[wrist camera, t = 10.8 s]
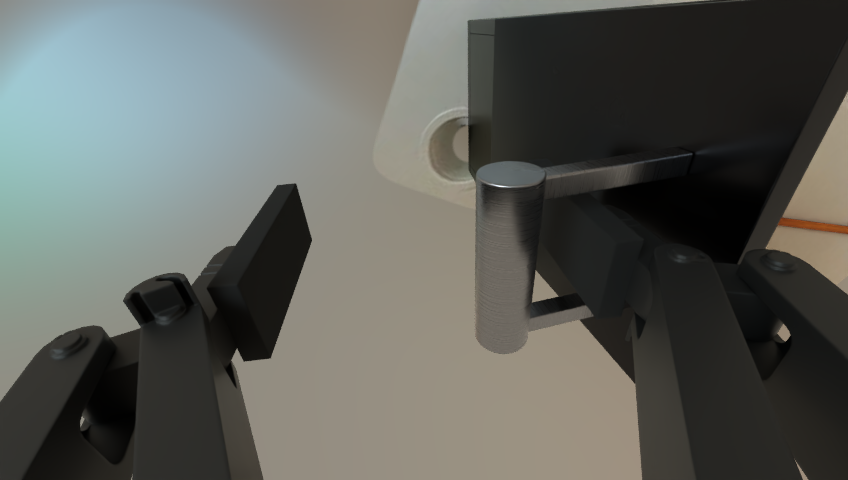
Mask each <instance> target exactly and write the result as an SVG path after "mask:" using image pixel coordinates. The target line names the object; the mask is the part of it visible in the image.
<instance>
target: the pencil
mask: <svg viewBox="0 0 848 480" xmlns="http://www.w3.org/2000/svg"><path fill="white" fill-rule="evenodd" d="M778 225H783V226H791V227H799V228H807V229H815V230H822V231H830V232H838V233H846V234H848V226H840V225H833V224H825V223H817V222H810V221H802V220H794V219H787V218H781V219H780V221H779V223H778Z"/></svg>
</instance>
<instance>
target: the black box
mask: <svg viewBox="0 0 848 480" xmlns="http://www.w3.org/2000/svg"><path fill="white" fill-rule="evenodd" d="M720 1H733V0H706V1H694V2H682V3H669V4H657V5H645V6H633V7H621V8H609V9H597V10H586V11H574V12H562V13H575V12H588V11H601V10H614V9H627V8H641V7H654V6H667V5H680V4H694V3H707V2H720ZM550 14H561V13H550ZM538 15H548V14H538ZM526 16H535V15H526ZM515 17H522V16H515ZM503 18H508V17H503ZM495 19H497V18H491V19H479V20H469V21H468V129H469V130H468V132H469V172H470V173H471V175H472V177H473V178H474V180H475V182H476V173H477V171H478V170H479V169H480V168H481V167H483V166H485V165H488V164H491V136H492V102H493V68H494V33H495Z"/></svg>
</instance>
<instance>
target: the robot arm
mask: <svg viewBox="0 0 848 480" xmlns="http://www.w3.org/2000/svg"><path fill="white" fill-rule="evenodd" d="M529 163H531V164H534V165H537V166H539V167H541V168H546V167H552V166H555V165H554V164H553V163H552V162H551V161H549V160H548V159H547V158H545V159H535V160H529ZM539 240H540V241H541V242H542V244H543V245H544V247H545V248H546V249H547V251H548V252H549V254H550V255H551V257H552V258H553V259H554V261H555V262H556V264H557V265H558V266H559V268H560V269H561V271H562V272H563V273H564V275H565V276H566V278H567V279H568V280H569V282H570V283H571V285H572V286H573V287H574V289H575V290H576V292H577V293H578V294H579V296H580V297H581V299H582V300H583V301H584V303H585V304H586V306H587V307H588V308H589V310H590V311H591V313H592V314H593V316H594V317H595V318H596V320H597V319H606V318H614V317H621V315H622V312H623V309H624V305H625V302H627V303H628V304H629V305H630V306H631V307H632V309H633V310H634V314H633V317H632V320H631V323H630V326H629V329H628V332H627V335H626V338H625V341H629V340H630V337H631V336H632V343H633V357H634V371H635V384H636V399H637V412H638V425H639V439H640V454H641V468H642V480H803V479H802V476H801V474H800V471H799V469H798V467H797V464H796V462H797V463H798V465H799V466H800V468H801V469H802V471H803V472H804V473H805V475H806V476H807V478H808V479H809V480H848V295H847V294H846V293H845V292H843V291H842V290H841V289H840V288H839V287H837V286H836V285H835V284H834V283H832V282H831V281H830V280H828V279H827V278H826V277H825V276H823V275H822V274H821V273H820V272H818V271H817V270H816V269H815V268H813V267H812V266H811V265H810V264H808V263H806V262H805V261H803V260H801V259H800V258H797V257H795V256H792V255H790V254H789V253H786V252H780V251H778V250H767V249H754V250H750V251H748V252H746V254H745V256H744V258H743V260H742V262H741V264H728V263H715V262H713V261H712V259H711V258H710V257H709V256H708V255H707V254H705V253H704V252H702V251H701V250H698V249H696V248H693V247H691V246H687V245H682V244H673V243H667V244H666V243H665V242H663V241H662V240H661V239H659V238H658V237H657V236H656V235H654V234H653V233H652V232H650V231H649V230H648V229H647V228H645V227H644V226H641V224H640V223H639V222H638V221H636V220H634V218H633V217H631V216H630V215H629V214H627V213H626V212H625V211H623V210H621V209H618V208H616V207H614V206H611V205H605V206H604V205H602V204H601V203H600V202H599V201H598V200H596V199H595V198H594V197H593V196H591V195H590V194H589V193H584V194H578V195H572V196H567V197H561V198H555V199H550V200H544V203H543V211H542V220H541V228H540V236H539ZM311 242H312V238H311V235H310V231H309V228H308V224H307V221H306V217H305V213H304V210H303V206H302V203H301V199H300V196H299V192H298V189H297V185H296V184H286V185H277V187H276V188H275V189H274V191H273V192H272V194H271V195H270V197H269V198H268V200H267V201H266V202H265V204H264V205H263V207H262V208H261V210H260V211H259V213H258V214H257V216H256V217H255V218H254V220H253V221H252V223H251V224H250V226H249V227H248V229H247V230H246V231H245V233H244V234H243V236H242V237H241V239H240V240H239V241H238V243H237V244H236V246H229V247H226V248H224V249H223V250H221V251H220V252H219V253H217V254H216V255H214V257H213V258H212V259H211V260H210V262H209V263H208V265H207V267H206V268H204V270H203V271H202V273H201V276H199V277H198V278H197V279H196V280H195V282H194V283H193V284H192V286H191V285H190V283H189V281H188V279H187V278H186V276H185V275H184V274H180V273H167V274H163V275H159V276H155V277H153V278H151V279H148V280H146V281H144V282H142V283H140V284H139V285H137V286H135V287H134V288H133V289H132V290H131V291H129V293H127V294H126V296H125V298H124V300H123V302H124V303H125V304H126V306H127V307H128V309H129V310H130V312H131V313H132V315H133V316H134V317H135V319H136V320H137V322H138V323H139V325H140V326H141V328H140V329H137V330H134V331H130V332H127V333H124V334H121V335H117V336H114V337H111V338H110V337H109V336H108V335H107V333H106V332H105V331H104V330H103V328H102V327H100V326H94V325H93V326H87V327H81V328H79V329H76V330H72V331H69V332H66V333H65V334H64V335H60V336H58V337H57V338H55V339H54V340H53V341H51V342H50V343H49V344H47V345H46V346H44V347H43V348H42V349H41V350H40V351H39V352H38V353H37V354H36V355H35V356H34V358H33V359H32V361H31V362H30V363H29V364H28V366H27V367H26V368H25V370H24V371H23V372H22V374H21V375H20V377H19V378H18V379H17V381H16V382H15V383H14V384H13V386H12V387H11V388H10V390H9V391H8V392H7V394H6V395H5V396H4V398H3V399H2V400H1V402H0V480H131V477H132V474H133V478H132V480H263V476H262V472H261V468H260V464H259V460H258V456H257V452H256V448H255V444H254V440H253V436H252V432H251V427H250V423H249V419H248V416H247V411H246V408H245V403H244V399H243V395H242V392H241V387H240V383H239V379H238V375H237V371H236V368H235V367H234V365H233V363H232V361H231V359H232V357H233V355H234V353H235V351H236V349H237V348H238V351H239V353H240V355H241V357H242V359H243V361H252V360H260V359H269V358H271V355H272V353H273V350H274V347H275V344H276V341H277V338H278V336H279V333H280V330H281V327H282V324H283V321H284V319H285V316H286V313H287V310H288V307H289V304H290V301H291V299H292V296H293V293H294V290H295V287H296V284H297V282H298V279H299V276H300V273H301V270H302V267H303V265H304V262H305V259H306V256H307V253H308V250H309V248H310V245H311ZM783 324H784V325H785V326H786V327H787V328H788V330H789V331H790V334H791V336H790V337H789V339H788V340H787V341H786V342H785V341H784V340H782V339H781V338H780V336H779V335H778V334H777V333H778V331H779V330H780V328H781V326H782V325H783ZM82 416H83V418H85V420H84V422H83V424H82V426H81V428H80V420H81V417H82ZM795 460H796V462H795Z"/></svg>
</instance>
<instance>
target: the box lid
mask: <svg viewBox="0 0 848 480" xmlns="http://www.w3.org/2000/svg"><path fill="white" fill-rule="evenodd" d="M847 92H848V0H733V1H720V2H707V3H694V4H680V5H667V6H654V7H641V8H627V9H614V10H601V11H588V12H575V13H561V14H548V15H535V16H522V17H508V18H497V19H495V33H494V68H493V102H492V136H491V164H488V165H485V166H483V167H481V168H480V169H479V170H478V171H477V173H476V261H475V262H476V263H475V264H476V267H475V335H476V338H477V340H478V342H479V343H480V344H481V345H482V346H483V347H484V348H486V349H487V350H489V351H492V352H494V353H499V354H509V353H514V352H516V351H518V350H520V349H521V348H522V347H523V346H524V345H525V344H526V341H527V338H528V332H529V331H534V330H538V329H542V328H546V327H550V326H554V325H559V324H563V323H567V322H571V321H575V320H580V321H581V322H582V323H583V324H584V326H585V327H586V328H587V329H588V330H589V331H590V333H591V334H592V335H593V336H594V337H595V338H596V339H597V341H598V342H599V343H600V344H601V345H602V346H603V347H604V349H605V350H606V351H607V352H608V353H609V354H610V356H611V357H612V358H613V359H614V360H615V361H616V362H617V363H618V365H619V366H620V367H621V368H622V369H623V370H624V372H625V373H626V374H627V375H628V376H629V377H630V378H631V380H632V381H633V382H634V383H635V371H634V357H633V343H632V336H631V337H630V340H629V341H625V338H626V335H627V332H628V329H629V326H630V323H631V320H632V317H633V314H634V310H633V309H632V307H631V306H630V305H629V304H628V303H627V302H625V305H624V309H623V312H622V315H621V317H614V318H606V319H597V320H596V318H595V317H594V316H593V314H592V313H591V311H590V310H589V308H588V307H587V306H586V304H585V303H584V301H583V300H582V299H581V297H580V296H579V294H578V293H577V292H576V290H575V289H574V287H573V286H572V285H571V283H570V282H569V280H568V279H567V278H566V276H565V275H564V273H563V272H562V271H561V269H560V268H559V266H558V265H557V264H556V262H555V261H554V259H553V258H552V257H551V255H550V254H549V252H548V251H547V249H546V248H545V247H544V245H543V244H542V242H541V241H540V240H539V236H540V228H541V220H542V211H543V203H544V200H550V199H555V198H561V197H567V196H572V195H578V194H584V193H589V194H590V195H591V196H593V197H594V198H595V199H596V200H598V201H599V202H600V203H601V204H602V205H604V206H605V205H611V206H614V207H616V208H618V209H621V210H623V211H625V212H626V213H627V214H629V215H630V216H631V217H633V218H634V220H636V221H638V222H639V223H640V224H641V226H644V227H645V228H647V229H648V230H649V231H650V232H652V233H653V234H654V235H656V236H657V237H658V238H659V239H661V240H662V241H663V242H665V243H666V244H667V243H673V244H682V245H687V246H691V247H693V248H696V249H698V250H701V251H702V252H704V253H705V254H707V255H708V256H709V257H710V258H711V259H712V261H713V262H715V263H728V264H741V262H742V260H743V258H744V256H745V254H746V252H748V251H750V250H754V249H765V248H766V246H767V244H768V242H769V240H770V238H771V236H772V235H773V233H774V231H775V229H776V227H777V225H778V223H779V221H780V219H781V217H782V215H783V214H784V212H785V210H786V208H787V206H788V204H789V202H790V200H791V198H792V196H793V195H794V193H795V191H796V189H797V187H798V185H799V183H800V181H801V179H802V177H803V175H804V174H805V172H806V170H807V168H808V166H809V164H810V162H811V160H812V158H813V156H814V155H815V153H816V151H817V149H818V147H819V145H820V143H821V141H822V139H823V137H824V136H825V134H826V132H827V130H828V128H829V126H830V124H831V122H832V120H833V118H834V116H835V115H836V113H837V111H838V109H839V107H840V105H841V103H842V101H843V99H844V97H845V96H846V94H847ZM545 158H547V159H548V160H549V161H551V162H552V163H553V164H554V165H555V166H552V167H546V168H541V167H539V166H537V165H534V164H531V163H529V160H535V159H545ZM535 270H536V271H537V272H538V273H539V274H540V275H541V276H542V278H543V279H544V280H545V281H546V282H547V283H548V284H549V286H550V287H551V288H552V289H553V290H554V291H555V292H556V294H557V295H558V296H559V297H555V298H551V299H546V300H542V301H538V302H533V303H532V294H533V287H534V279H535Z"/></svg>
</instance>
